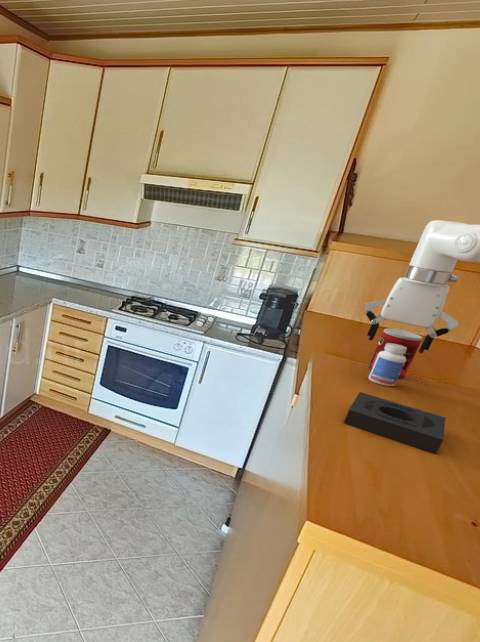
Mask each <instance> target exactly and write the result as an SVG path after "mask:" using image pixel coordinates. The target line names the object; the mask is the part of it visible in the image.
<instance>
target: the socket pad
mask: <svg viewBox="0 0 480 642" xmlns="http://www.w3.org/2000/svg"><path fill="white" fill-rule="evenodd" d="M349 407H350V408H349V409H348V411H347V414H346V416H345V418H344V420H343V424H346V425H348V426H352V427H354V428H357V429H361V430H363V431H367V432H370V433H373V434H375V435H378V436H382V437H385V438H387V439H391V440H394V441H396V442H399V443H402V444H405V445H408V446H411V447H414V448H416V449H420V450H423V451H426V452H429V453H432V454H435V455H436V454H438V451H439V449H440V447H441V446H442V443H443V441H444V435H445V427H446V426H445V425H446V416H442V415H438V414H436V413H432V412H428V411H427V410H426V411H425V410H422V409H419V408H416V407H412V406H409V405H405V404H403V403H399V402H395V401H392V400H389V399H385V398H382V397H379V396H375V395H372V394H369V393H365V392H361V391H359V392H358V394H357V396H356V397H355V399H354V401H353V402H352V404H351V406H349Z"/></svg>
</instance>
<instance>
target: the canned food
mask: <svg viewBox="0 0 480 642" xmlns="http://www.w3.org/2000/svg"><path fill="white" fill-rule="evenodd" d="M422 339H423V337H422V336H421V335H419V334H417V333H414V332H412V331H408V330H403V329H399V328H391V327H389V328H388V327H387V328H384V329H383V330H382V333H381V335H380V337H379V340H378V343H377V345H376V348H375V350H374V352H373V355H372V357H371V360H370V363H369V370H370V371H371V370H372V368H373V365H374V363H375V360H376V358H377V355H378V353H379V352H381V351H385V349H384V348H385V345H386V343H393V344H398V345H402V346H405V347H407V350H406V353H405V354H403V356H405V358H406V361H405V364H404V366H403V368H402V371H401V373H400V375H399V378H398V379H402V378H404V377H405V376H406V375H407V373H408V371H409V369H410V367H411V365H412V363H413V360H414V358H415V356H416V354H417V351H418V349H419V347H420V345H421V342H422Z"/></svg>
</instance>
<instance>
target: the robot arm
mask: <svg viewBox="0 0 480 642" xmlns="http://www.w3.org/2000/svg"><path fill="white" fill-rule="evenodd" d="M458 260H460V261H465V262H471V263H480V224H468V223H465V222H459V221H449V220H440V219H437V220H431V221H429V222H428V223H427V224H426V225H425V227H424V229H423V232H422V234H421V236H420V238H419V241H418V243H417V246H416V247H415V250H414V252H413V254H412V257H411V260H410V262H409V264H408V266H407V269H406V271H405V273H404V276H403V277H399V278H398V279H397V281H396V282H395V283H394V285H393V287H392V288H391V290H390V292H389V294H388V296H387V298H386V299H382V300H374V301H370V302H365V303H364V310H365V315H366V317H367V319H368V320H369V322H370V326H369V329H368V332H367V335H366V336H367V337H368V341H373V340H374V339H375V336H376V334H377V332H378V329H379V327H380V325H381V324H380V323H381V322H383V321H385V320H388V321H391V322H396V323H400V324H406V325H409V326H414V327H419V328H424V329H425V331H426V332H427V335H425V337H424V339H423V341H422V343H421V344H420V345H421V346H420V348H419V350H418V353H420V354H423V353H424V351H429V349H430V348H431V345H432V343H433V341H434V339H436V338H437V337H438V338H439V337H440V336H444V335H446V334H448V333H450V331H451V332H452V331H453V330H454V329H455V328H457V327H458V326H459V322H458V321H457V320H455V319H454V318H453V317H451V316H449V314H447V313H446V312H444V311H443V310H444V306H445V304H446V301H447V298H448V295H449V292H450V286H449V285H447V283H457V281H458V280H459V275H455V274H453V273H452V272H453V271H454V268H455V266H456V264H457V262H458ZM377 307H382V309H381V312H380V315H377V316H376V314H375V313H374V312H373V308H377ZM439 319H440V320H442V321H443V322H445V323H446V324H447V325H445V326H444V327H441V328H438V329H436V328H435V325H436V324H437V322H438V321H439Z"/></svg>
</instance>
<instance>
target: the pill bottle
mask: <svg viewBox="0 0 480 642" xmlns="http://www.w3.org/2000/svg"><path fill="white" fill-rule="evenodd" d="M384 349H385V351H381V352H379V353H378V355H377V358H376V360H375V363H374V365H373V368H372V370H371V369H370V373H369V375H368V380H369V381H370V382H373V383H375V384H378V385H381V386H384V387H394V386H396V384H397V382H398V380H399V379H400V378H399V375H400V373H401V371H402V368H403V366H404V364H405V361H406V358H405V356H403V354H405V353H406V350H407V347H405V346H402V345H398V344H393V343H386V345H385V348H384Z"/></svg>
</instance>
